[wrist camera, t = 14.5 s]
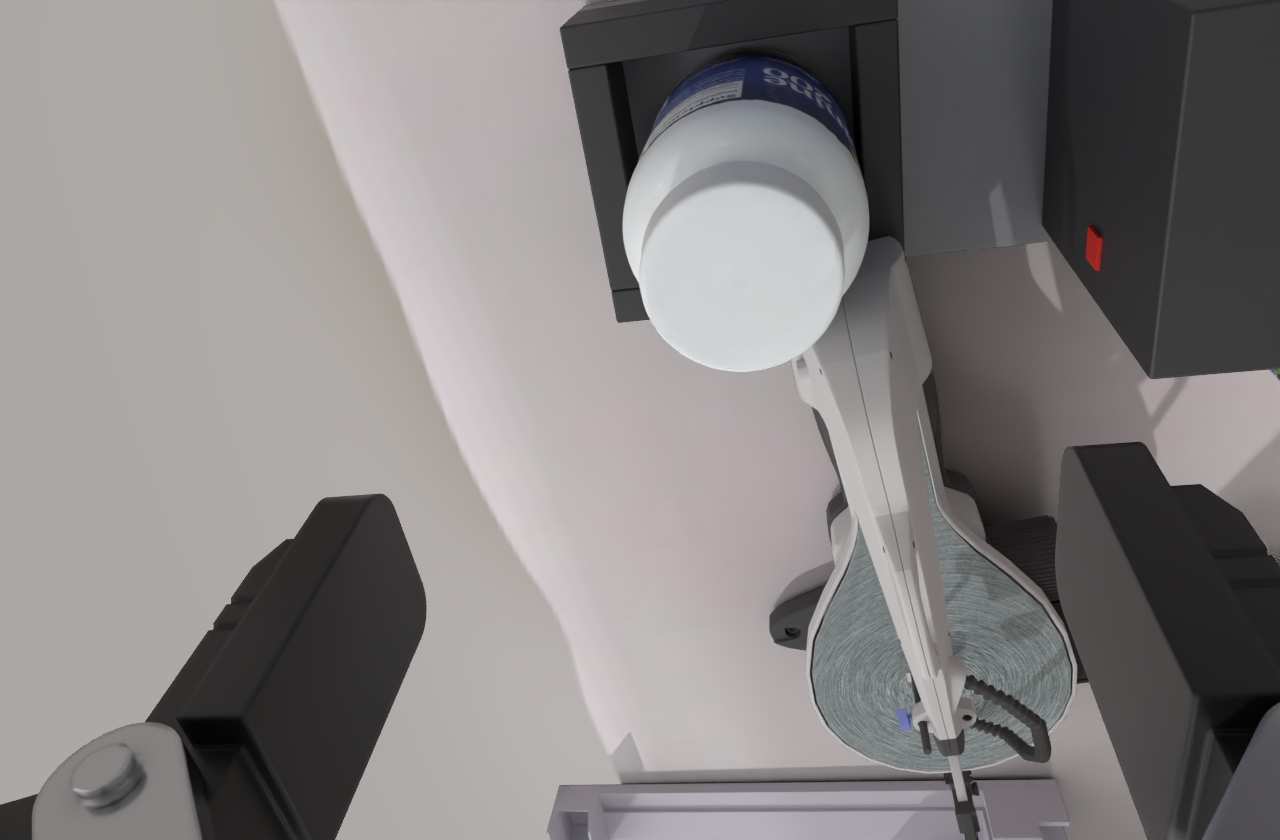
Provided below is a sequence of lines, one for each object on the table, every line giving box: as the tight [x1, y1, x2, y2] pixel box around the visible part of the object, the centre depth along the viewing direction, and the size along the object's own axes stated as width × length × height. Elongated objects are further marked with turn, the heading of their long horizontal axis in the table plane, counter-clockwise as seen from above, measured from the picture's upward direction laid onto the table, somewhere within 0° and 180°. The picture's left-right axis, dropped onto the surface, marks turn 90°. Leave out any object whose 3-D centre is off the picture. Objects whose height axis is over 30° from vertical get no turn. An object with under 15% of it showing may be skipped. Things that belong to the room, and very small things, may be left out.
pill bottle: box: [622, 48, 869, 372], centre depth 22 cm, size 5×5×10 cm
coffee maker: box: [560, 0, 1280, 379], centre depth 23 cm, size 8×15×10 cm, turn 100°
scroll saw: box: [770, 236, 1089, 840], centre depth 28 cm, size 20×11×12 cm
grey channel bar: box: [546, 779, 1070, 840], centre depth 41 cm, size 21×3×3 cm
